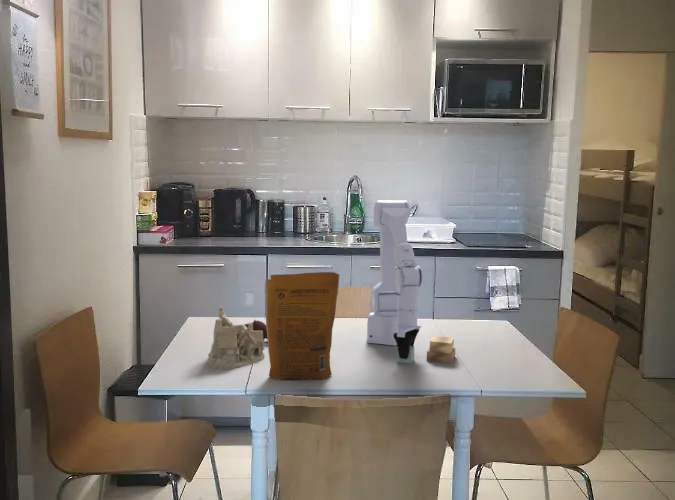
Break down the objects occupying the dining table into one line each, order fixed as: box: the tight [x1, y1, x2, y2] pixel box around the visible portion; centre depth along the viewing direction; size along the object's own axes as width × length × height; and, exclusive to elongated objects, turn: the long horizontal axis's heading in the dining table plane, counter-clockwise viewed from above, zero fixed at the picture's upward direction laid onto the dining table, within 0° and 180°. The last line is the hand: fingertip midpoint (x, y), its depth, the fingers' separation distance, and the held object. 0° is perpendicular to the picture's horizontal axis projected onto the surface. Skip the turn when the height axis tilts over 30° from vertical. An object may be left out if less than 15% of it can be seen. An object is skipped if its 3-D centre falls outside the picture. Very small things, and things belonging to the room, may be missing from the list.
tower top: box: [429, 335, 455, 354], centre depth 197 cm, size 6×6×3 cm
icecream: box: [244, 319, 268, 341], centre depth 211 cm, size 7×8×15 cm
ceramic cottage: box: [207, 306, 265, 370], centre depth 192 cm, size 16×16×15 cm
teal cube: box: [396, 346, 415, 364], centre depth 195 cm, size 4×4×4 cm
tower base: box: [426, 347, 456, 364], centre depth 197 cm, size 7×7×3 cm
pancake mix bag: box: [264, 271, 340, 381], centre depth 176 cm, size 7×19×28 cm, turn 97°
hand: (405, 355), depth 195 cm, fingers open, 5 cm apart
